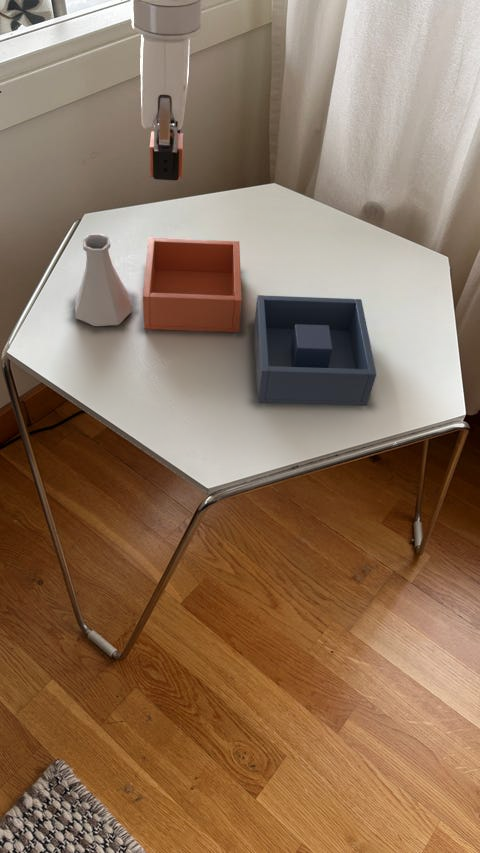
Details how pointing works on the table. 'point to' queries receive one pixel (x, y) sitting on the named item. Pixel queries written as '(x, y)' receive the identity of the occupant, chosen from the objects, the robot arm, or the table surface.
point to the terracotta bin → (192, 285)
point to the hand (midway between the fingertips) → (166, 167)
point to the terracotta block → (179, 146)
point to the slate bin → (332, 385)
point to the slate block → (311, 346)
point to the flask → (101, 287)
